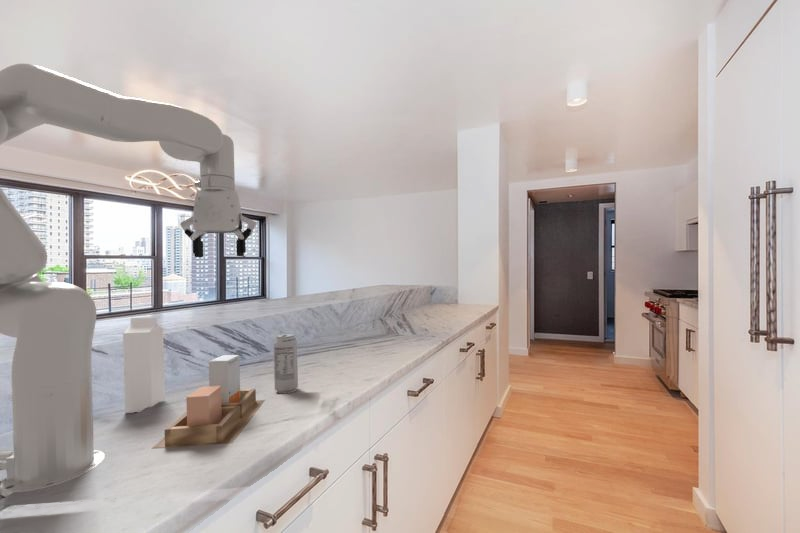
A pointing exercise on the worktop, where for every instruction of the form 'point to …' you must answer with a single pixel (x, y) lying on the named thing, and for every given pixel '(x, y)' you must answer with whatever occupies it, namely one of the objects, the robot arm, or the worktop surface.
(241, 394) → the socket board
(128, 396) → the milk
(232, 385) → the skincare box
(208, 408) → the terracotta block
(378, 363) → the worktop surface
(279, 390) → the energy drink can
